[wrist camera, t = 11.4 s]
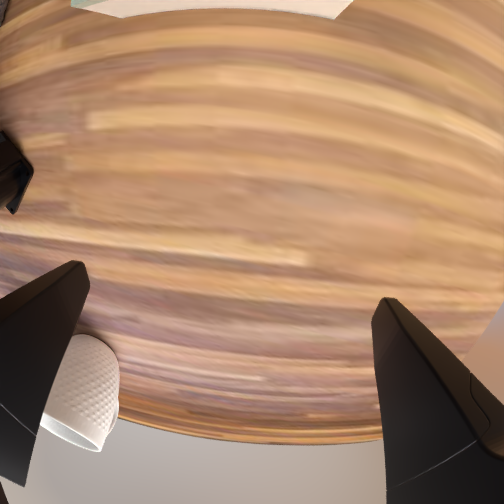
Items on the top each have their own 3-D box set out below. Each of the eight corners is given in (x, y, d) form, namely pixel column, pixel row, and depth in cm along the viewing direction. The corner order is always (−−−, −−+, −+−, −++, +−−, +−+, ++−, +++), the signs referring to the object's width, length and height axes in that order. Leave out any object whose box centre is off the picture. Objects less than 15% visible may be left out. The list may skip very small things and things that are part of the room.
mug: (154, 391, 37) (132, 469, 27) (98, 382, 39) (72, 448, 28) (108, 323, 29) (62, 419, 19) (48, 318, 31) (4, 393, 20)
